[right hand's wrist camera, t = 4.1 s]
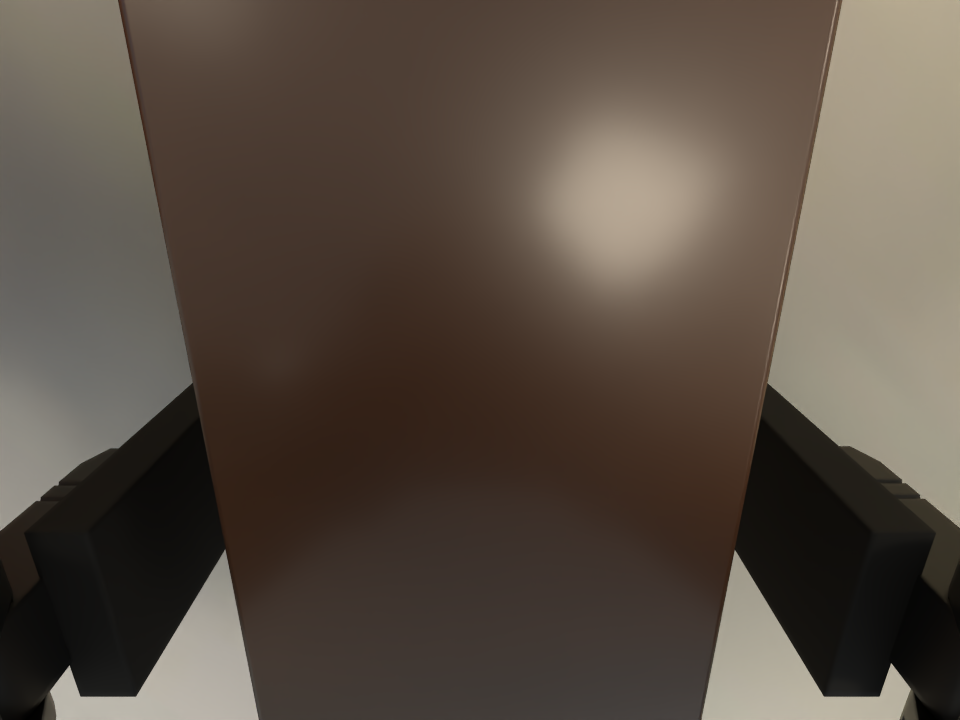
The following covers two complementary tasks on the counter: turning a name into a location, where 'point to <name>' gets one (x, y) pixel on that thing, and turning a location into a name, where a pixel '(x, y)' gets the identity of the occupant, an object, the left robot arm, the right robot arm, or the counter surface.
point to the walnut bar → (480, 330)
